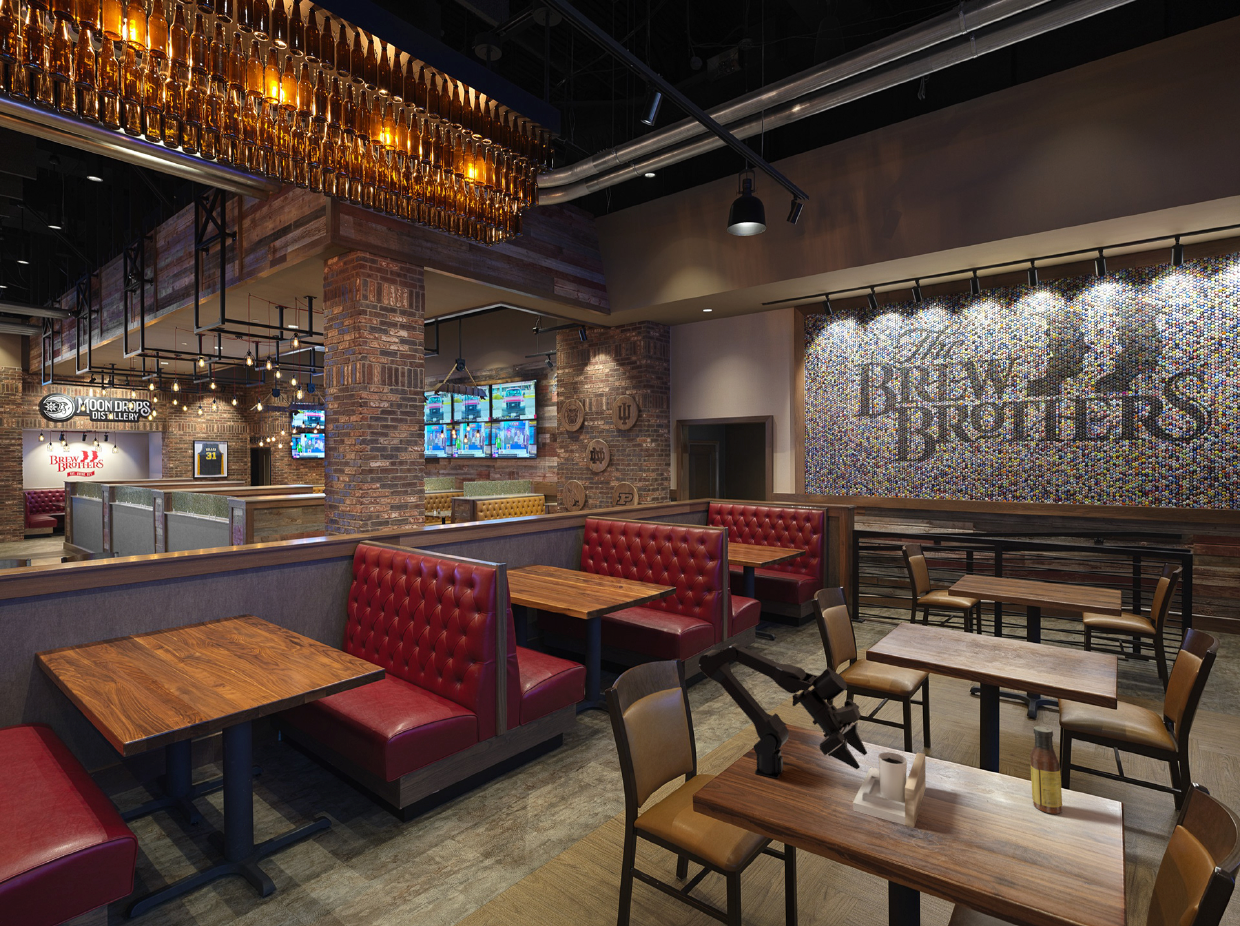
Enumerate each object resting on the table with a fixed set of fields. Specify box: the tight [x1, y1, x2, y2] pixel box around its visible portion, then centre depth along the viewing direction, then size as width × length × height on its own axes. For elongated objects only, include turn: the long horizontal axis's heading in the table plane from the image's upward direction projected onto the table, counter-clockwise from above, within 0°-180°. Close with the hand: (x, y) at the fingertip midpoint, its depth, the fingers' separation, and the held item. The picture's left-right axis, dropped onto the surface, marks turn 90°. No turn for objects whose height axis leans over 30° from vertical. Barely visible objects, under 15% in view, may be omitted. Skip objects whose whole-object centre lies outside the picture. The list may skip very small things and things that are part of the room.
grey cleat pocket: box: [852, 767, 909, 826], centre depth 162 cm, size 12×22×4 cm, turn 147°
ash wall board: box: [904, 752, 927, 828], centre depth 158 cm, size 2×22×9 cm, turn 147°
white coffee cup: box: [878, 751, 908, 803], centre depth 159 cm, size 7×7×10 cm
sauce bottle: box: [1030, 725, 1063, 815], centre depth 157 cm, size 7×6×20 cm
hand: (862, 761), depth 163 cm, fingers open, 9 cm apart
